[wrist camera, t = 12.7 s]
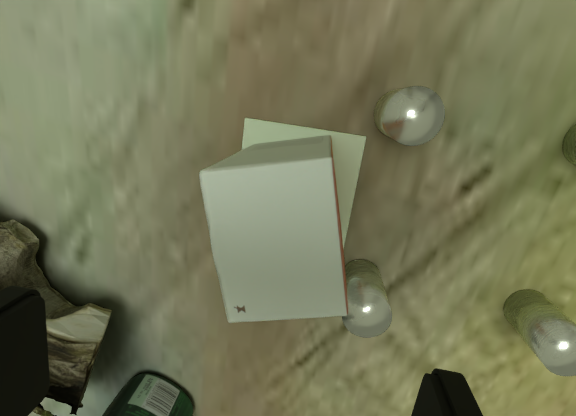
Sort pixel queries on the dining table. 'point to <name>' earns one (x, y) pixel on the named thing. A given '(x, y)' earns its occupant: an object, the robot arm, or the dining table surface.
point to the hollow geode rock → (54, 318)
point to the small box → (277, 231)
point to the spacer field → (518, 307)
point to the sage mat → (344, 155)
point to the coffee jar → (150, 398)
